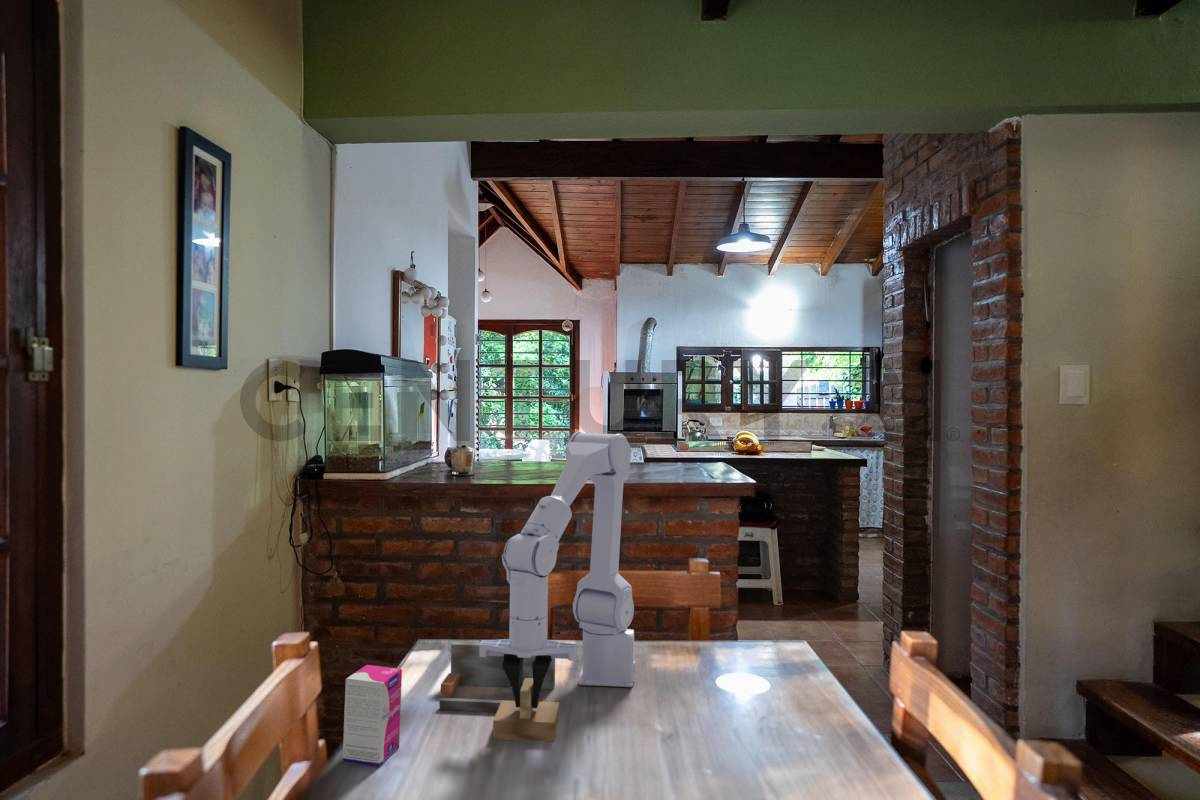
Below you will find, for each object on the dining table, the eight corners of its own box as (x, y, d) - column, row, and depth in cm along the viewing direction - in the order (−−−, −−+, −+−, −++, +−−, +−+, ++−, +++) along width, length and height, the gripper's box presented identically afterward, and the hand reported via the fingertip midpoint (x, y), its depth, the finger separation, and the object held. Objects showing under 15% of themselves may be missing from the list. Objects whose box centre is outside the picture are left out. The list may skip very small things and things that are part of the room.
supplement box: (381, 768, 96) (382, 682, 96) (341, 763, 98) (342, 678, 98) (401, 747, 102) (402, 667, 102) (363, 743, 103) (364, 663, 103)
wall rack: (554, 685, 125) (555, 645, 125) (545, 714, 114) (545, 670, 114) (451, 681, 126) (451, 641, 126) (431, 709, 115) (432, 665, 115)
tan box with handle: (559, 721, 112) (559, 676, 112) (554, 743, 105) (554, 695, 105) (501, 719, 112) (502, 674, 112) (492, 740, 105) (493, 693, 105)
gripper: (474, 621, 105) (473, 714, 105) (573, 624, 104) (572, 718, 104) (485, 607, 112) (484, 694, 112) (578, 610, 111) (577, 698, 111)
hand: (527, 705), depth 109 cm, fingers closed
